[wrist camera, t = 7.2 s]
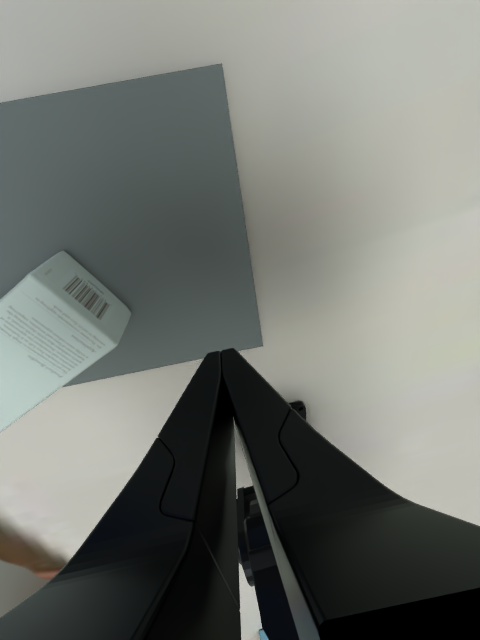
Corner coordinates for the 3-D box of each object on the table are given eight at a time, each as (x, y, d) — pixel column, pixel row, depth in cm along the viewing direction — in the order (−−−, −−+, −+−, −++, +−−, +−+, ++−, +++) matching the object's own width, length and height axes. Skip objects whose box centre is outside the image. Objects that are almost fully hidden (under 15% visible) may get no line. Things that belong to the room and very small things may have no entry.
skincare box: (65, 246, 18) (-50, 344, 21) (26, 273, 14) (-109, 388, 17) (137, 314, 21) (28, 392, 23) (121, 351, 17) (-8, 439, 20)
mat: (262, 343, 24) (262, 346, 24) (-24, 401, 23) (-27, 405, 23) (221, 65, 15) (221, 63, 14) (-252, 149, 14) (-263, 149, 14)
